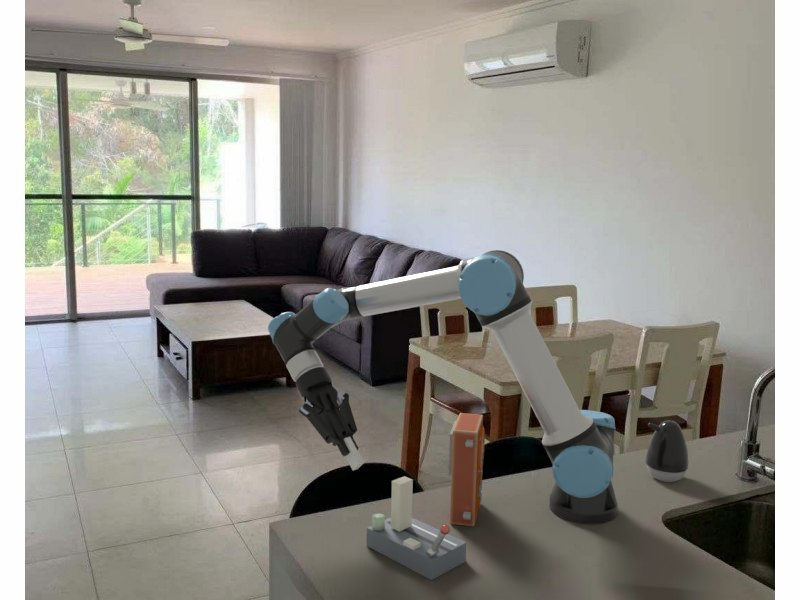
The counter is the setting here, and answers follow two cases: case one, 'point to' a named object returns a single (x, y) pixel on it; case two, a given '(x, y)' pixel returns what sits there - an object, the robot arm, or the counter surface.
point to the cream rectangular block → (401, 503)
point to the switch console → (418, 548)
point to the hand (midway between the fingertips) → (358, 466)
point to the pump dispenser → (667, 452)
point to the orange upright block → (466, 468)
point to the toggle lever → (438, 541)
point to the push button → (378, 522)
